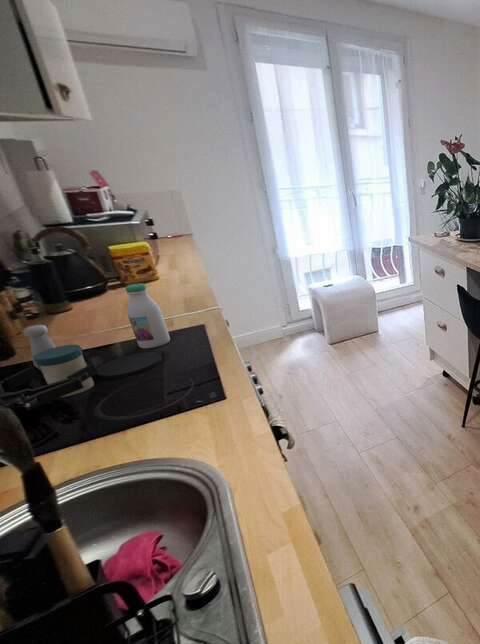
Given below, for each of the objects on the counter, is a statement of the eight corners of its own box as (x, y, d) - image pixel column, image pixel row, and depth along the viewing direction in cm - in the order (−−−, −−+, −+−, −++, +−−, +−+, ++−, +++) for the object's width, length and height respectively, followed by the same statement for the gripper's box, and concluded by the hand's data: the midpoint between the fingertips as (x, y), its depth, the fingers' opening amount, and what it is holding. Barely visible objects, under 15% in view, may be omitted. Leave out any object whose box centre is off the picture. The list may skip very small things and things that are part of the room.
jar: (48, 400, 102) (30, 363, 98) (57, 387, 108) (41, 351, 104) (90, 391, 106) (75, 355, 102) (97, 378, 112) (83, 344, 108)
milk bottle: (163, 337, 137) (144, 280, 130) (175, 341, 134) (156, 283, 127) (134, 346, 130) (112, 286, 123) (146, 351, 127) (124, 290, 120)
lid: (30, 369, 98) (27, 362, 98) (42, 356, 105) (39, 349, 104) (78, 360, 103) (75, 353, 102) (86, 348, 109) (83, 342, 108)
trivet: (91, 383, 109) (89, 380, 109) (102, 363, 120) (101, 360, 120) (159, 369, 117) (158, 366, 117) (164, 350, 128) (163, 347, 127)
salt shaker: (32, 370, 115) (12, 328, 111) (60, 361, 121) (42, 321, 116) (44, 374, 114) (23, 332, 109) (71, 365, 119) (53, 324, 114)
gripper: (-93, 440, 85) (14, 385, 104) (43, 431, 88) (123, 379, 107) (-113, 409, 82) (1, 359, 102) (28, 401, 85) (113, 354, 105)
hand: (64, 369), depth 105 cm, fingers open, 13 cm apart
